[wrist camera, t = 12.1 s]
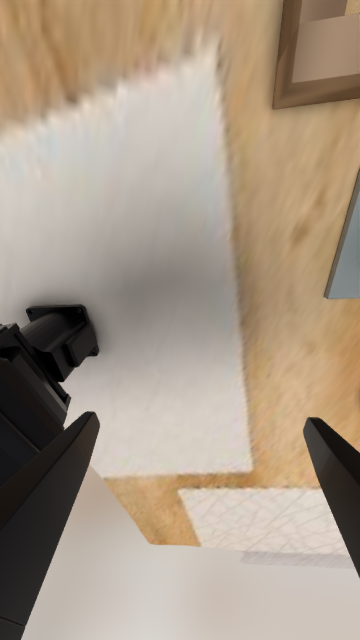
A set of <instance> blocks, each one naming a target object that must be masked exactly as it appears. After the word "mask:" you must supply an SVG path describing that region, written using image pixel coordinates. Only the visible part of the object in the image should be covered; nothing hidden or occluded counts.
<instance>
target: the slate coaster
mask: <svg viewBox="0 0 360 640" xmlns="http://www.w3.org/2000/svg"><path fill="white" fill-rule="evenodd" d="M324 297H325V298H327V299H349V298H360V171H359V174H358V178H357V182H356V185H355V189H354V192H353V196H352V199H351V203H350V206H349V210H348V214H347V217H346V221H345V224H344V228H343V231H342V235H341V238H340V242H339V246H338V249H337V253H336V256H335V260H334V263H333V267H332V270H331V274H330V278H329V281H328V285H327V288H326V292H325V295H324Z"/></svg>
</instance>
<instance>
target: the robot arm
mask: <svg viewBox="0 0 360 640" xmlns="http://www.w3.org/2000/svg"><path fill="white" fill-rule="evenodd" d="M79 309H81V311H80V310H79ZM26 313H27V315H28V317H29V319H30V321H31V323H29V324H28V325H26V326H25V327H23V328H22V329H20V328H19V326H18V325H17V324H16V323H12V324H8V325H2V324H0V640H21V638H22V635H23V633H24V630H25V626H26V624H27V622H28V619H29V616H30V614H31V611H32V609H33V607H34V604H35V601H36V599H37V596H38V594H39V591H40V589H41V586H42V583H43V581H44V578H45V576H46V573H47V571H48V568H49V566H50V563H51V561H52V558H53V555H54V553H55V550H56V548H57V545H58V543H59V540H60V537H61V535H62V532H63V530H64V527H65V525H66V522H67V520H68V517H69V515H70V512H71V509H72V507H73V504H74V502H75V499H76V497H77V494H78V492H79V489H80V486H81V484H82V481H83V479H84V476H85V474H86V471H87V468H88V466H89V463H90V459H91V456H92V453H93V449H94V446H95V442H96V439H97V435H98V432H99V428H100V422H99V420H98V417H97V415H96V413H95V412H89V411H87V412H85V413H83V414H82V415H81V416H80V417H79V418H78V419H77V420H75V421H74V422H73V423H72V424H71V425H70V426H69V427H68V428H66V429H65V428H64V426H63V425H64V422H65V419H66V416H67V410H68V407H69V403H70V400H71V397H70V396H69V394H67V393H66V392H65V391H64V389H63V388H62V387H61V385H60V384H59V383H58V382H64V381H65V380H66V378H67V377H68V376H69V375H70V373H71V372H72V371H73V370H74V368H75V367H79V366H80V364H81V363H82V362H83V360H84V359H85V358H86V357H87V356H97V355H98V353H99V349H98V346H97V341H96V338H95V335H94V332H93V329H92V326H91V324H90V322H89V319H88V316H87V313H86V310H85V307H84V306H82V305H61V306H36V307H29V308H27V309H26ZM19 329H20V330H19ZM93 351H94V352H93ZM64 429H65V430H64ZM303 434H304V438H305V441H306V444H307V447H308V450H309V454H310V457H311V460H312V463H313V466H314V469H315V472H316V475H317V478H318V481H319V483H320V486H321V488H322V490H323V493H324V495H325V498H326V500H327V502H328V505H329V507H330V509H331V512H332V514H333V516H334V519H335V521H336V523H337V526H338V528H339V531H340V533H341V535H342V538H343V540H344V542H345V545H346V547H347V549H348V552H349V554H350V556H351V559H352V561H353V563H354V566H355V568H356V571H357V573H358V575H359V578H360V453H359V452H358V451H357V450H356V449H355V448H354V447H353V446H351V445H350V444H349V443H348V442H347V441H346V440H345V439H343V438H342V437H341V436H340V435H339V434H338V433H337V432H335V431H334V430H333V429H332V428H331V427H330V426H329V425H327V424H326V423H325V422H324V421H323V420H322V419H320V418H318V417H308V418H307V420H306V423H305V426H304V429H303Z"/></svg>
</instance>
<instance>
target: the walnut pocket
mask: <svg viewBox="0 0 360 640" xmlns="http://www.w3.org/2000/svg"><path fill="white" fill-rule="evenodd" d="M346 4H347V0H284V5H283V15H282V24H281V34H280V44H279V53H278V63H277V72H276V82H275V92H274V101H273V109H279V108H287V107H294V106H302V105H309V104H317V103H325V102H332V101H340V100H347V99H355V98H360V13H358V14H352V15H346V16H344V15H345V9H346Z"/></svg>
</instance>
